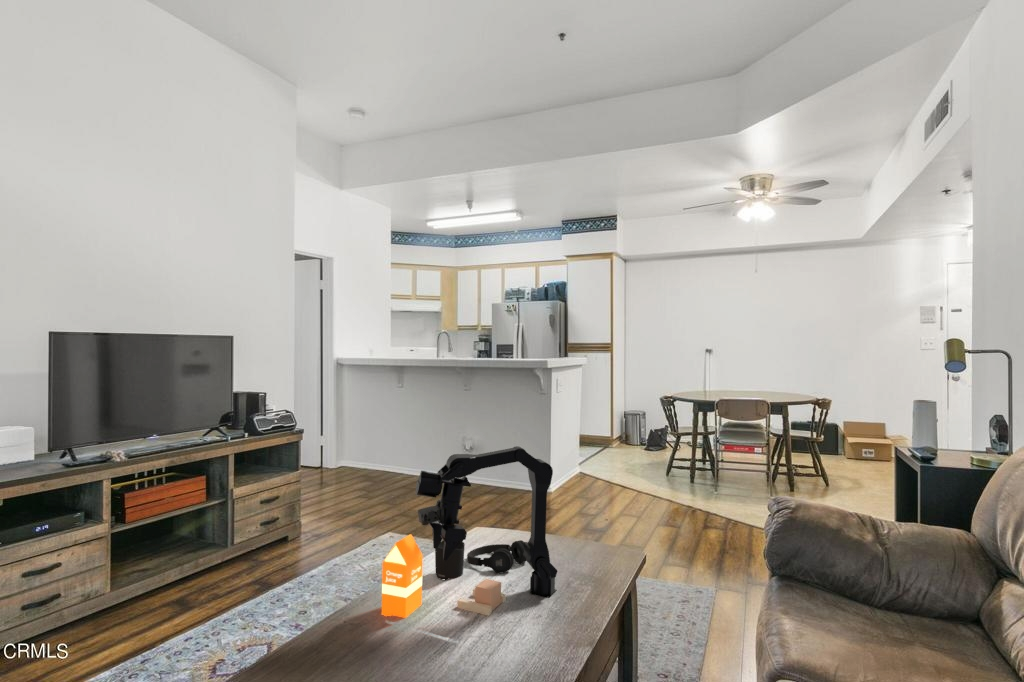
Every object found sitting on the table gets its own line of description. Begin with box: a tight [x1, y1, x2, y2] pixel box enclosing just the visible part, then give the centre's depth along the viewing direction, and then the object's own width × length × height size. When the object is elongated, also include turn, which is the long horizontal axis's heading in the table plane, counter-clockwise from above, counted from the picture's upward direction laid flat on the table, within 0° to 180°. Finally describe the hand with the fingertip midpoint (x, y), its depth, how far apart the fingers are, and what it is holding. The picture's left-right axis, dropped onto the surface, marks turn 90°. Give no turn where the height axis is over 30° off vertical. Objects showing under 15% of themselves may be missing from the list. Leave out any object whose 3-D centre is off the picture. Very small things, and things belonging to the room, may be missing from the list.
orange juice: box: [381, 533, 424, 619], centre depth 156 cm, size 8×9×20 cm
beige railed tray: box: [456, 587, 507, 617], centre depth 162 cm, size 18×12×2 cm, turn 63°
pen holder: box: [434, 539, 465, 581], centre depth 181 cm, size 9×9×10 cm
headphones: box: [466, 539, 527, 574], centre depth 193 cm, size 17×7×20 cm
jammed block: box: [474, 578, 502, 612], centre depth 159 cm, size 5×6×6 cm
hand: (440, 554), depth 160 cm, fingers open, 9 cm apart
